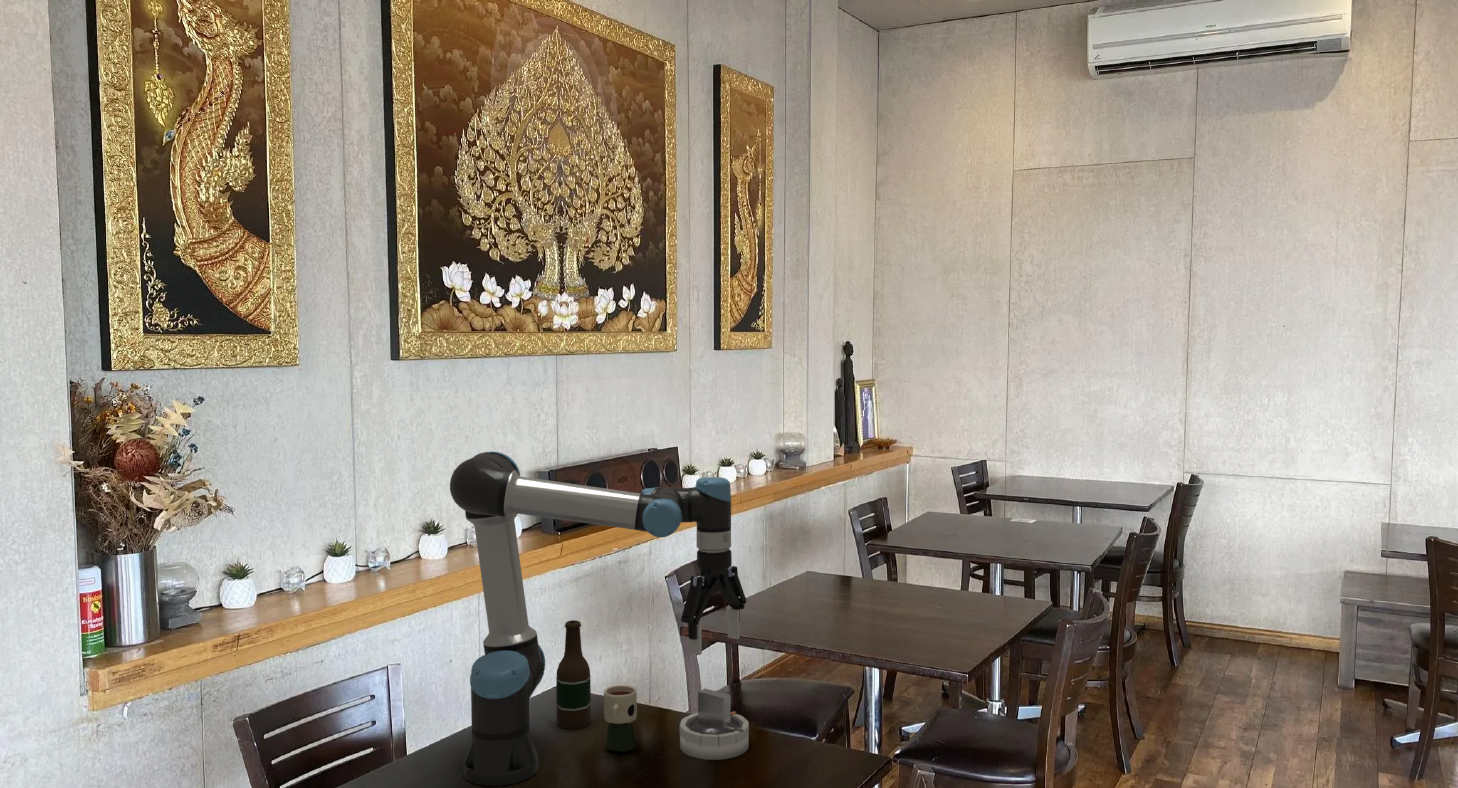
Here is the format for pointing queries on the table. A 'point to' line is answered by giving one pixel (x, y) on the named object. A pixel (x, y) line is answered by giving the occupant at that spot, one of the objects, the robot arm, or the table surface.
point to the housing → (714, 740)
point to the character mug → (620, 716)
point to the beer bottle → (573, 682)
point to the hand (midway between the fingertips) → (715, 645)
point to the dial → (713, 714)
